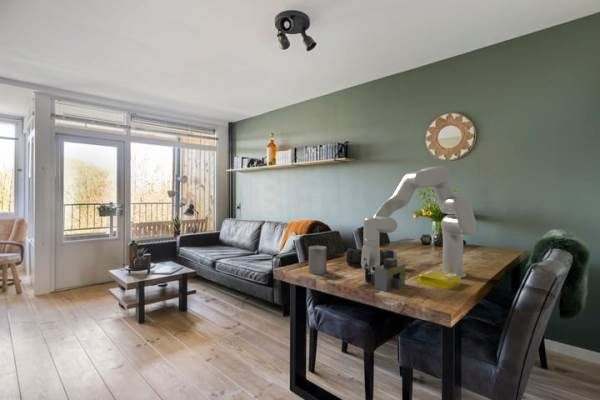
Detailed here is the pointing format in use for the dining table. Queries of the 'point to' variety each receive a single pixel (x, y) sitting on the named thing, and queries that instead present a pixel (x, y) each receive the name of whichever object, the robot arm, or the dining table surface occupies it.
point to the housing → (388, 274)
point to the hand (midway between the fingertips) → (371, 280)
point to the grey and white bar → (396, 281)
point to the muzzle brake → (356, 254)
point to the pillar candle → (317, 260)
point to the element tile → (440, 279)
